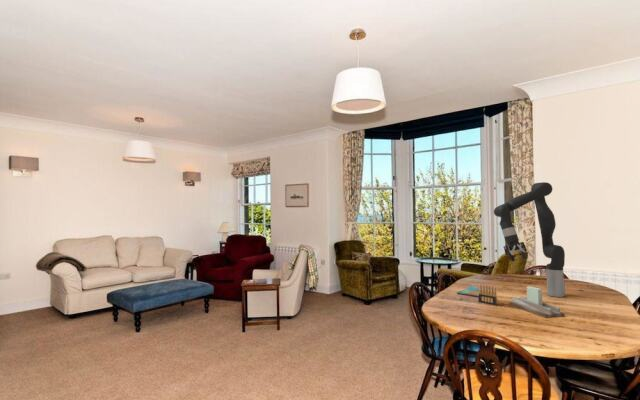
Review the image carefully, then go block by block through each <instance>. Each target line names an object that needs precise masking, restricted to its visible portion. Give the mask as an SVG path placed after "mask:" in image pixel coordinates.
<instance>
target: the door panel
mask: <svg viewBox="0 0 640 400" xmlns="http://www.w3.org/2000/svg"><path fill="white" fill-rule="evenodd" d="M526 298H527V301H529V302H532V303H535V304H538V305H541V306H542V303H543V289H542V288H539V287H535V286H526Z"/></svg>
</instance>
